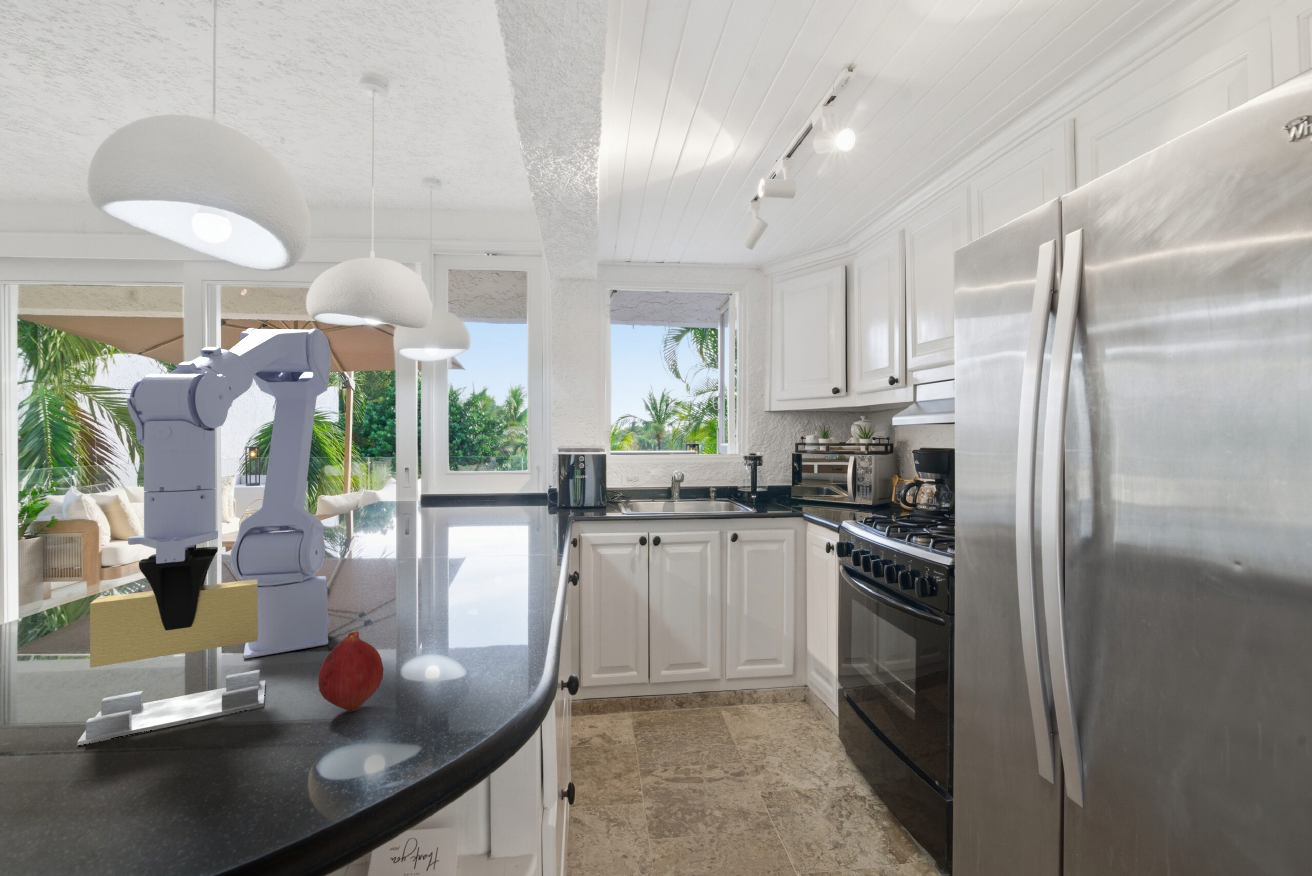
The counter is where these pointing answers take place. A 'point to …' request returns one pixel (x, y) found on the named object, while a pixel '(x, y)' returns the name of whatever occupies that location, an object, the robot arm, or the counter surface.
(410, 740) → the counter surface
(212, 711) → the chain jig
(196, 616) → the brass plaque on stand
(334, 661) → the onion
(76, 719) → the counter surface
